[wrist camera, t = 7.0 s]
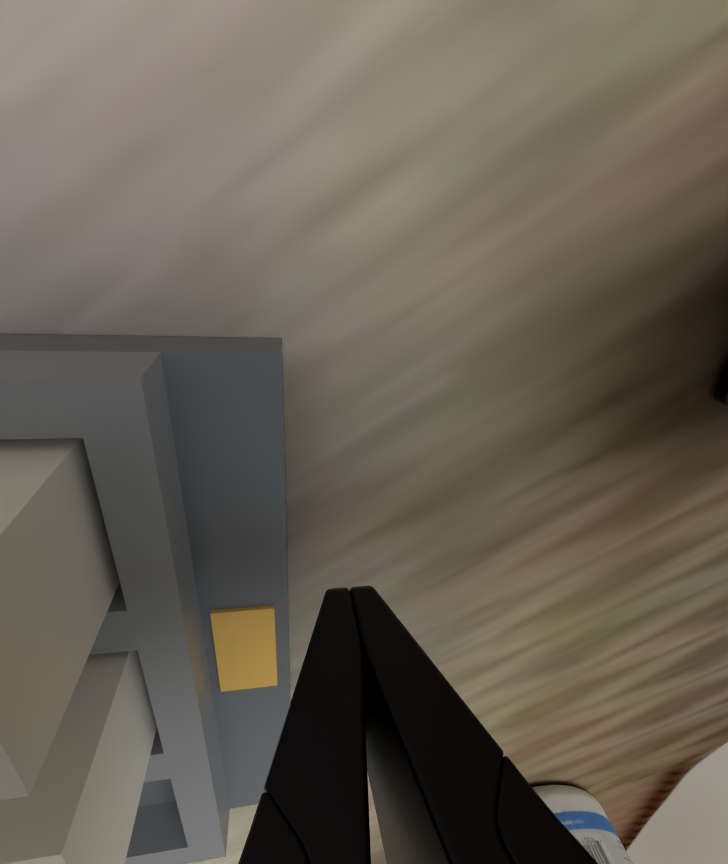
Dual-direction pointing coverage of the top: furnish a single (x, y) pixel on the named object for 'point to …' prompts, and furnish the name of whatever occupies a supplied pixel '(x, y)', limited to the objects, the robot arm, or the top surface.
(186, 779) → the grey compartment tray
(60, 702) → the beige grey rectangular block
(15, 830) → the light grey block
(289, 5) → the top surface
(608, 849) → the supplement tub
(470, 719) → the robot arm
